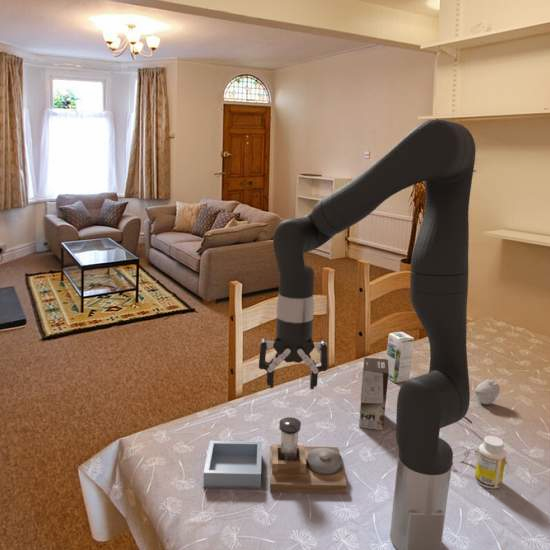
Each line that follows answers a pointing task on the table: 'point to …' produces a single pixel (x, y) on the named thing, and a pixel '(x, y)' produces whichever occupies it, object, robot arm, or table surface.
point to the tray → (233, 465)
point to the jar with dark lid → (289, 438)
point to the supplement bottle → (490, 462)
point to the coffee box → (373, 393)
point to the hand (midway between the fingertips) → (291, 387)
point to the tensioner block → (308, 471)
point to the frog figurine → (487, 391)
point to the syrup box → (399, 356)
